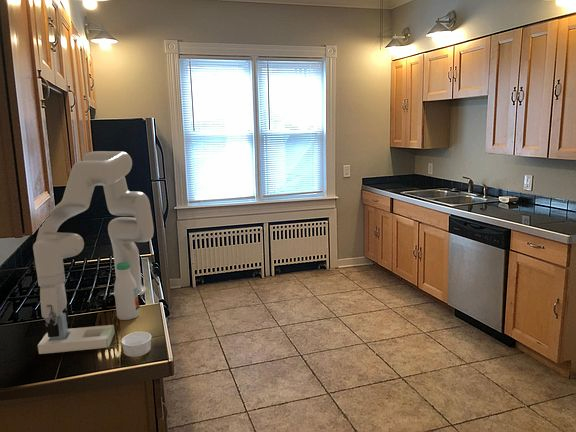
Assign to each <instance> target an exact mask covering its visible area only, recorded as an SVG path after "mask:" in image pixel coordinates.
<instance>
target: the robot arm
mask: <svg viewBox="0 0 576 432" xmlns="http://www.w3.org/2000/svg"><path fill="white" fill-rule="evenodd" d="M132 167H133V160H132V157H131V156H130V154H128V153H127V152H126V151H111V150H110V151H107V150H106V151H105V150H102V151H100V150H99V151H98V150H96V151H90V152H87V153H86V154H84V156H83V159H82V160H81V161H77V162H75V163H74V164H73V165H72V167H71V169H70V173H69V176H68V180H67V184H66V186H65V190H64V193H63V197H62V199H61V201H60V202H59V203H58V204H56V205H55V206H54V207H52V209H51V210H50V211H49V212H50V214H49V215H50V216H49V217H48V218H47V219H46V220H45V222H44V223H43V224H42V226H41V227H40V226H39V228H38V232H37V235H36V240H35V242H34V243H33V244H32V251H33V256H34V263H35V270H36V271H35V272H36V277H37V284H38V287H40V288H39V296H40V297H39V299H40V301H39V302H40V311H41V317H42V318H43V319H44V320H45V322H44V323H45V327H46V333H48V337H58V336H59V335H60V334H59V327H58V324H57V317H58V316H59V315H60V314H61V313H66V320H67V324H68V323H69V322H70V321H69V315H68V314H69V313H68V306H67V304H68V302H67V301H68V300H67V293H66V287H65V283H66V276H65V275H66V274H65V268H64V259H68V258H72V257H75V256H78V255H80V253H81V252H82V251H83V249H84V247H85V242H84V238H83V237H82V236H81V235H80V234H78V233H74V232H58V230H59V228H60V226H61V225H62V224H63V223H64V222H66V221H67V220H68V219H70V218H72V217H75V216H77V215H78V214H81V213H84V212H85V211H87V210H88V209H89V208H90V205H91V202H92V197H93V193H94V190H95V187H96V186H102V187H103V193H104V196H105V202H106V206H107V207H106V208H107V210H108V211H109V212H108V213H110V214H111V215H113V216H118V217H115V218H113V219H111V220H110V221H109V222H108V225H107V232H108V236H109V239H110V243H111V247H112V253H113V261H114V270H115V271H114V272H115V279H116V278H117V274H118V271H117V268H116V265H117V264H118V263H121V262H129V263H130V272H131V275H132V276H133V278H134V280H135V282H136V286H137V293H138V294H139V295H140V296H142V295H144V294H145V293H146V292H147V288H146V286H145V285H143V284H142V276H141V265H140V251H139V248H138V247H137V244H136V243H146V242H149V241H151V240H152V239H153V237H154V230H155V229H154V226H155V225H154V221H153V215H152V208H151V203H150V199H149V197H148V195H146V194H145V193H144V192H142V191H130V190H129V189H128V188H129V187H128V184H127V180H126V176H127V175H128V174H129V173H130V171H131V170H132ZM119 216H120V217H119ZM113 296H114V297H115V291H113ZM51 314H55V315H51ZM51 318H54V321H53V320H52V319H51Z"/></svg>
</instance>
